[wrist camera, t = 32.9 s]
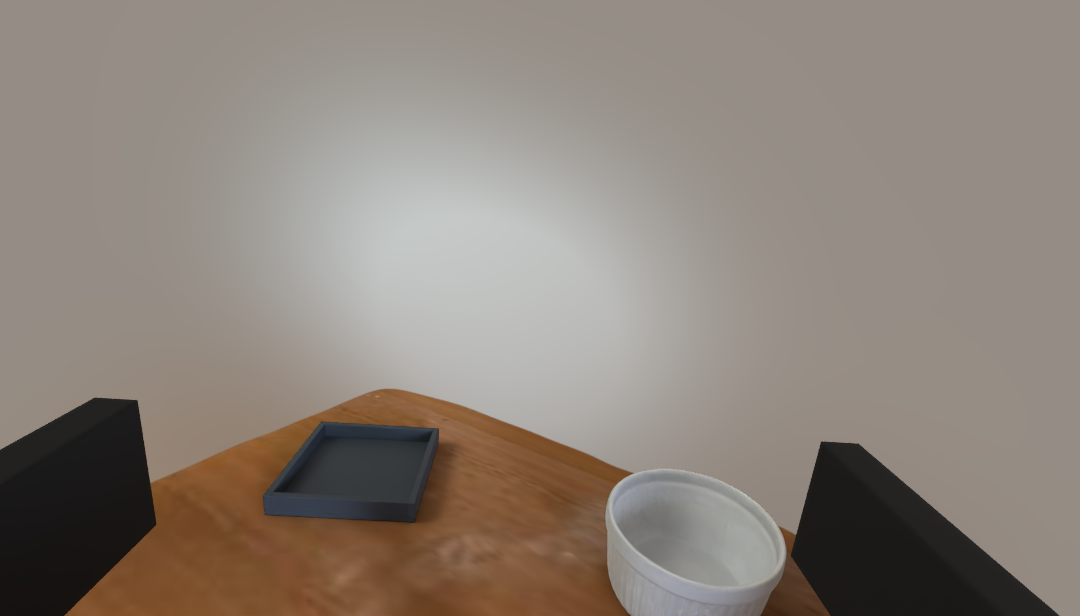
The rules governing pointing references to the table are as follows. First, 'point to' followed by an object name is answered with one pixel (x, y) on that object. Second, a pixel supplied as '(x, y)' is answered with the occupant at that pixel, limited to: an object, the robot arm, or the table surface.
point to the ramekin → (690, 546)
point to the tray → (356, 473)
